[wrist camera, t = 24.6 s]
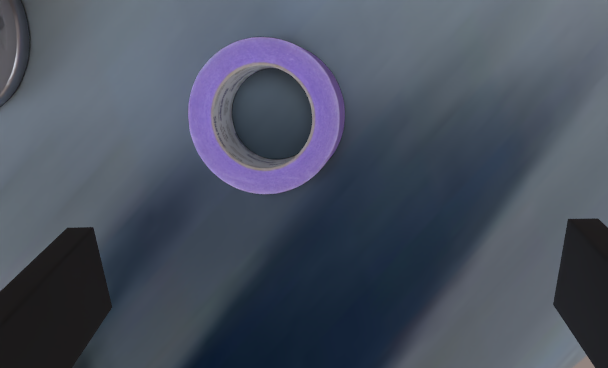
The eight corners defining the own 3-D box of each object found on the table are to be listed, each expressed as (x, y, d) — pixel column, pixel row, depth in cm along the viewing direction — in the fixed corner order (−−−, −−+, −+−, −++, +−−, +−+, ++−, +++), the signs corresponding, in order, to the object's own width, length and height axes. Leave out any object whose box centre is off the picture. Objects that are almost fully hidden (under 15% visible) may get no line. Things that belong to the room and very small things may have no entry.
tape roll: (193, 62, 42) (168, 59, 37) (326, 24, 40) (318, 17, 35) (229, 194, 44) (211, 208, 39) (359, 166, 42) (356, 177, 37)
